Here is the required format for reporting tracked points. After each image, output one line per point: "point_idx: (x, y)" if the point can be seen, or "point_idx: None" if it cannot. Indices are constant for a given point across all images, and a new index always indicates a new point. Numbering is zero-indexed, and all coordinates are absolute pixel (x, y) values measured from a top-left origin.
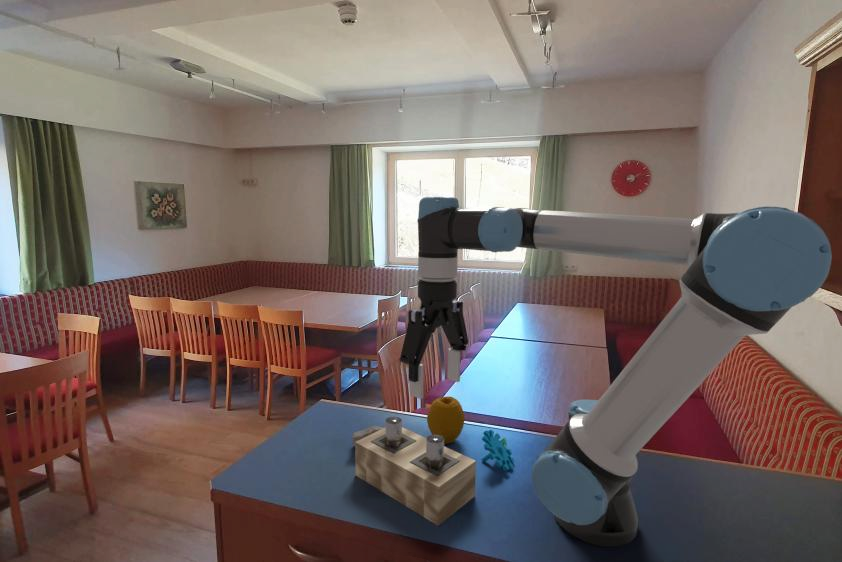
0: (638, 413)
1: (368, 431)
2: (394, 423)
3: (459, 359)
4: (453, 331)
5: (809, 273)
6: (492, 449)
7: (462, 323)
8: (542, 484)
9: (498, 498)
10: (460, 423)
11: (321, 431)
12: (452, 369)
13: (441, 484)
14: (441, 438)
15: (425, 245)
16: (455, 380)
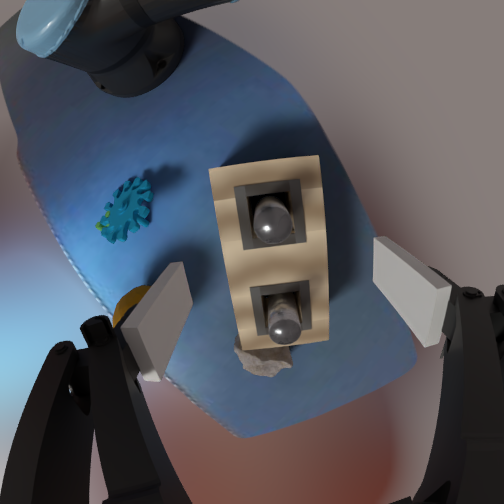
0: None
1: (265, 365)
2: (293, 322)
3: (143, 304)
4: (132, 440)
5: None
6: (138, 204)
7: (30, 443)
8: None
9: (195, 143)
10: (135, 291)
11: (286, 402)
12: (177, 304)
13: (310, 157)
14: (261, 218)
15: None
16: (183, 272)
